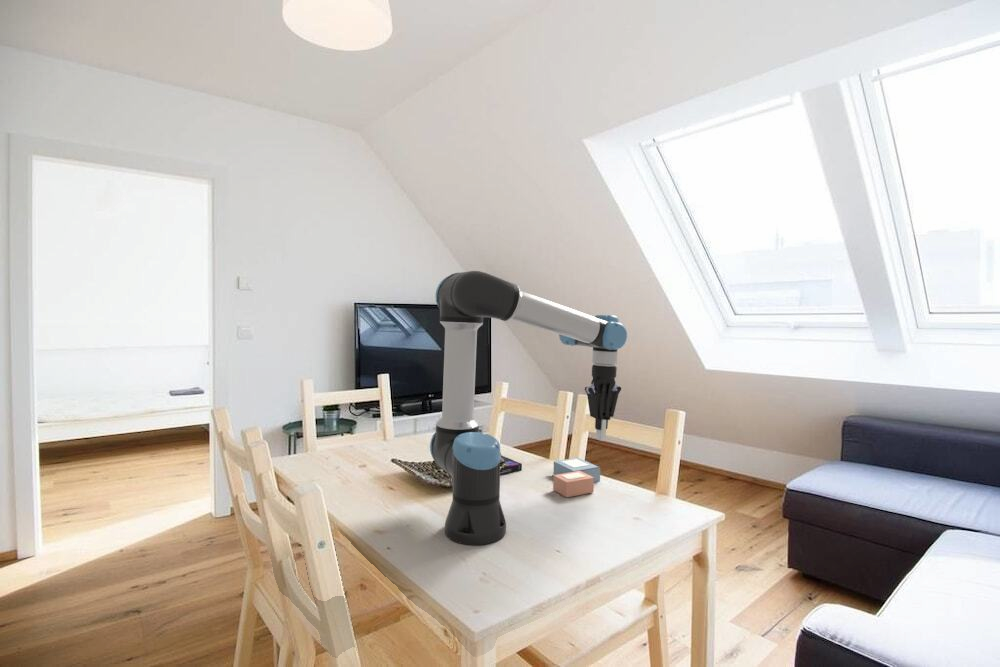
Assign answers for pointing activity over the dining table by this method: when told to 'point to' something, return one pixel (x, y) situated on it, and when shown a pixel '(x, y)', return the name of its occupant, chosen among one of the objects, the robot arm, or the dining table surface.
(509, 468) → the box
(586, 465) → the white-topped blue block
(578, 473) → the white-topped pink block
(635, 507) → the dining table surface
